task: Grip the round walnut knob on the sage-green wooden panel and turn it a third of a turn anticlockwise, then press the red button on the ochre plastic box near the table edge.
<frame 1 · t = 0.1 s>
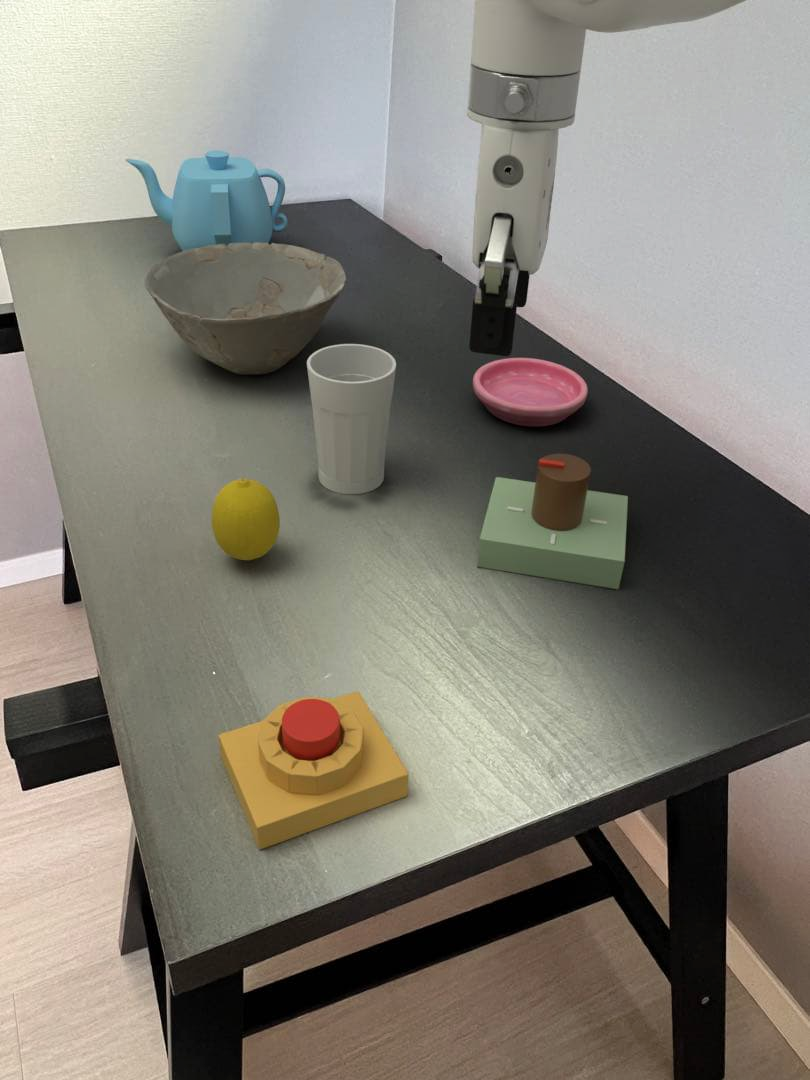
hand: (498, 327, 76), 19 cm above the table, tool pointing down, fingers open, 9 cm apart
knob: (560, 490, 80), point 6 cm above the table, hinge at 0.0°
panel: (552, 544, 84), on the table
button: (311, 729, 59), point 4 cm above the table, slide at 0.1 cm
teapot: (214, 256, 139), on the table
saucer: (527, 408, 104), on the table
ceramic bowl: (252, 359, 112), on the table
button box: (312, 776, 62), on the table
cup: (351, 478, 92), on the table
lemon: (248, 561, 81), on the table
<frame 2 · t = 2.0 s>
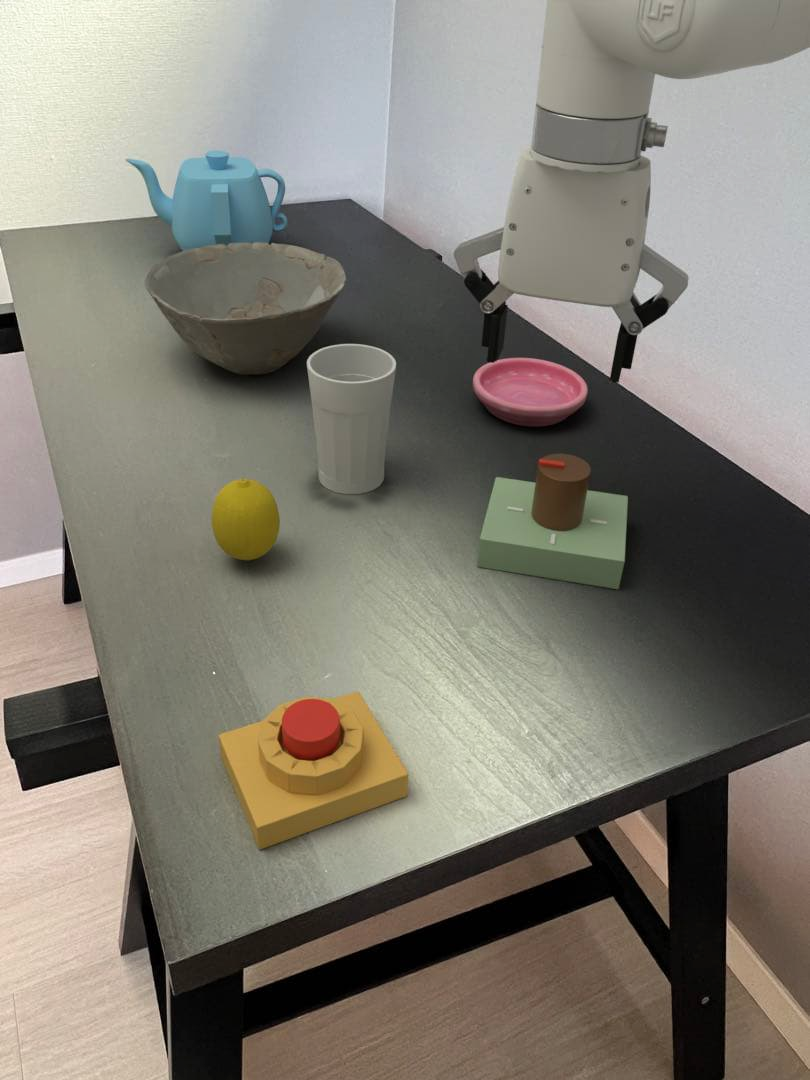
hand: (554, 365, 75), 17 cm above the table, tool pointing down, fingers open, 9 cm apart
nothing on the table moved.
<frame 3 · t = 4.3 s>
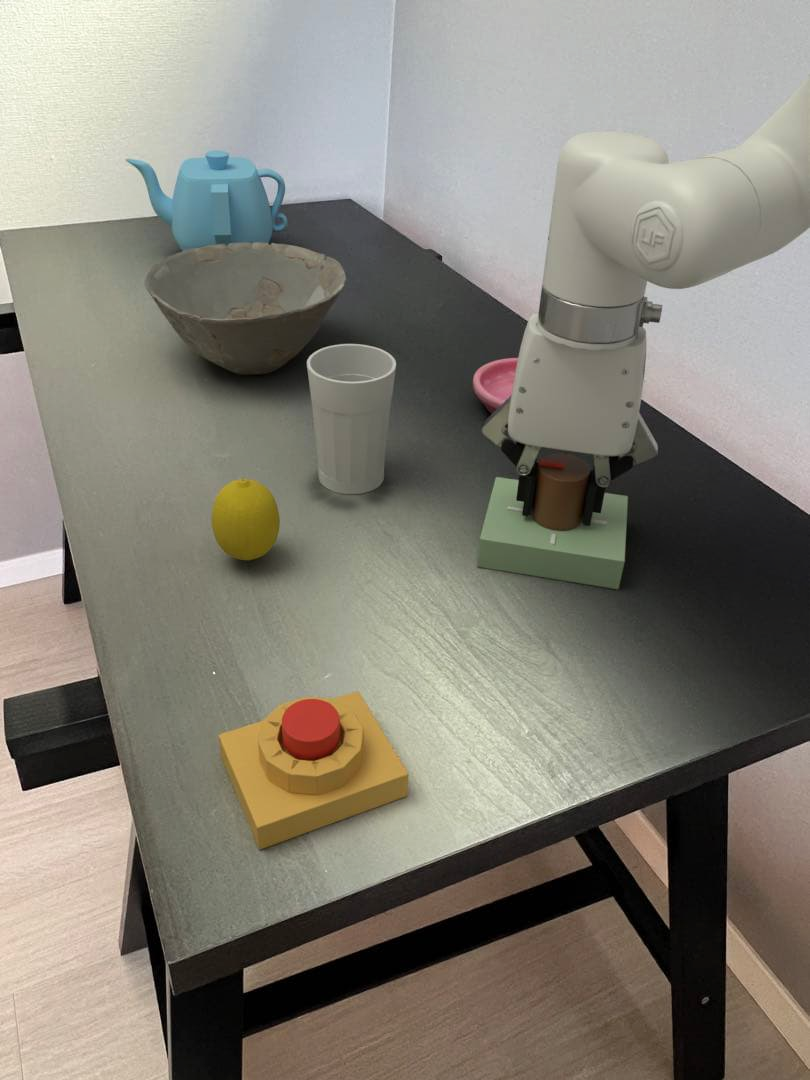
hand: (557, 510, 82), 4 cm above the table, tool pointing down, fingers closed on knob, 4 cm apart
knob: (560, 490, 80), point 6 cm above the table, hinge at 0.2°, touching gripper
everything else where it was.
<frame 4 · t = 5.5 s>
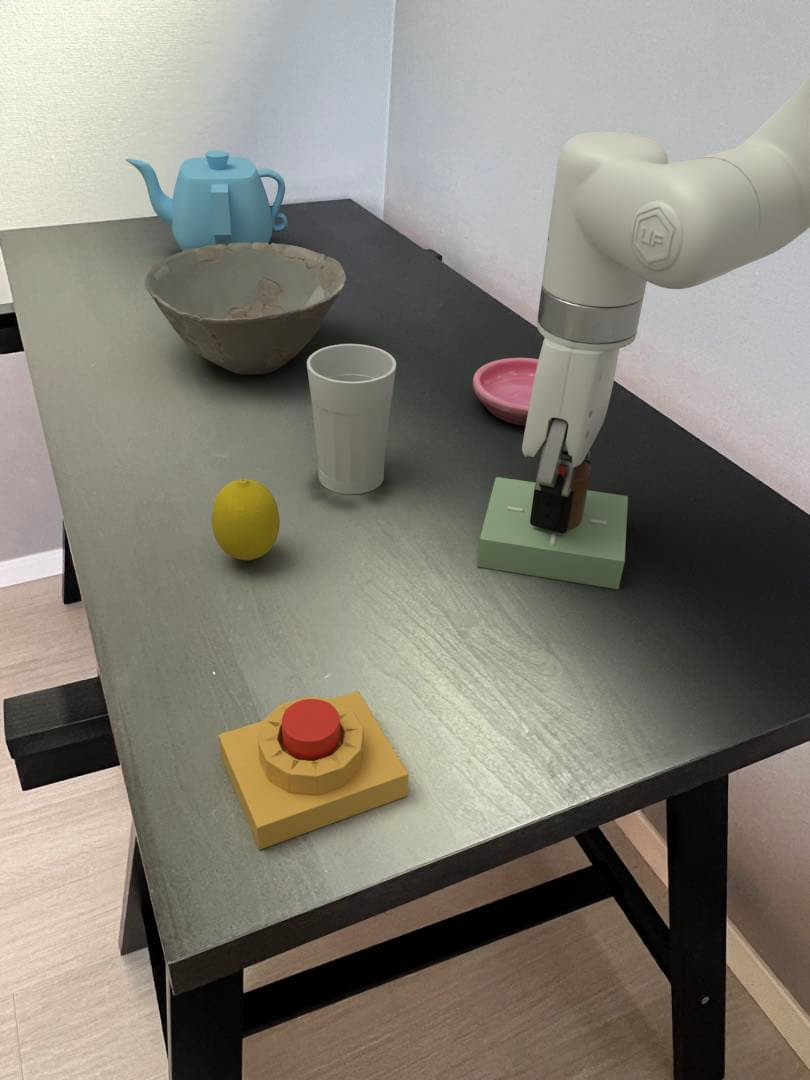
hand: (557, 510, 82), 4 cm above the table, tool pointing down, fingers closed on knob, 4 cm apart
knob: (560, 490, 80), point 6 cm above the table, hinge at 80.0°, touching gripper
everything else where it was.
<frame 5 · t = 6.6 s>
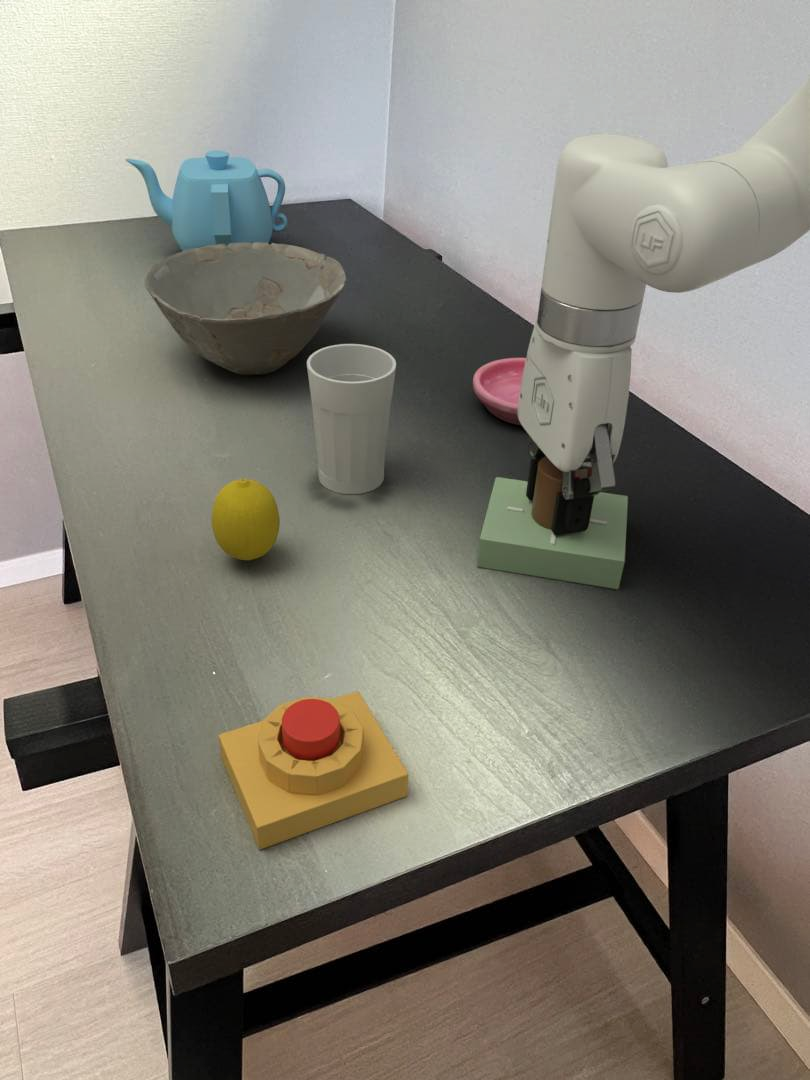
hand: (556, 511, 82), 3 cm above the table, tool pointing down, fingers open, 4 cm apart
knob: (560, 490, 80), point 6 cm above the table, hinge at 120.9°
everything else where it was.
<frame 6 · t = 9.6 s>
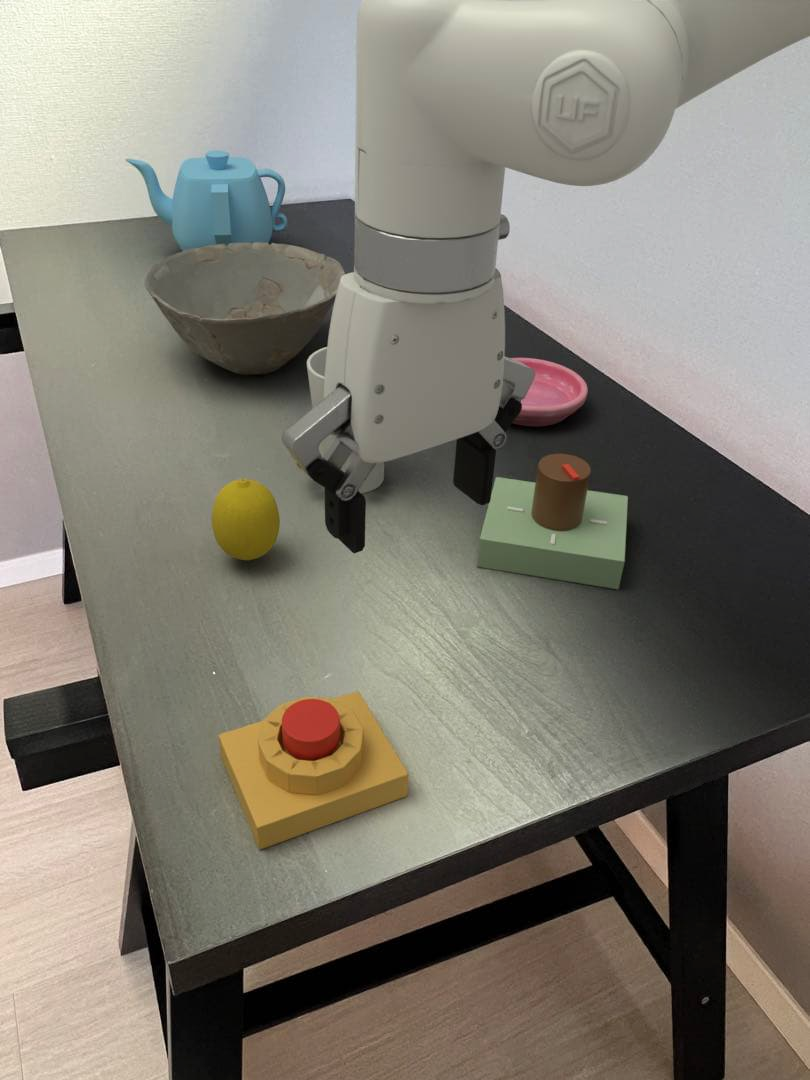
hand: (411, 516, 60), 15 cm above the table, tool pointing down, fingers open, 9 cm apart
nothing on the table moved.
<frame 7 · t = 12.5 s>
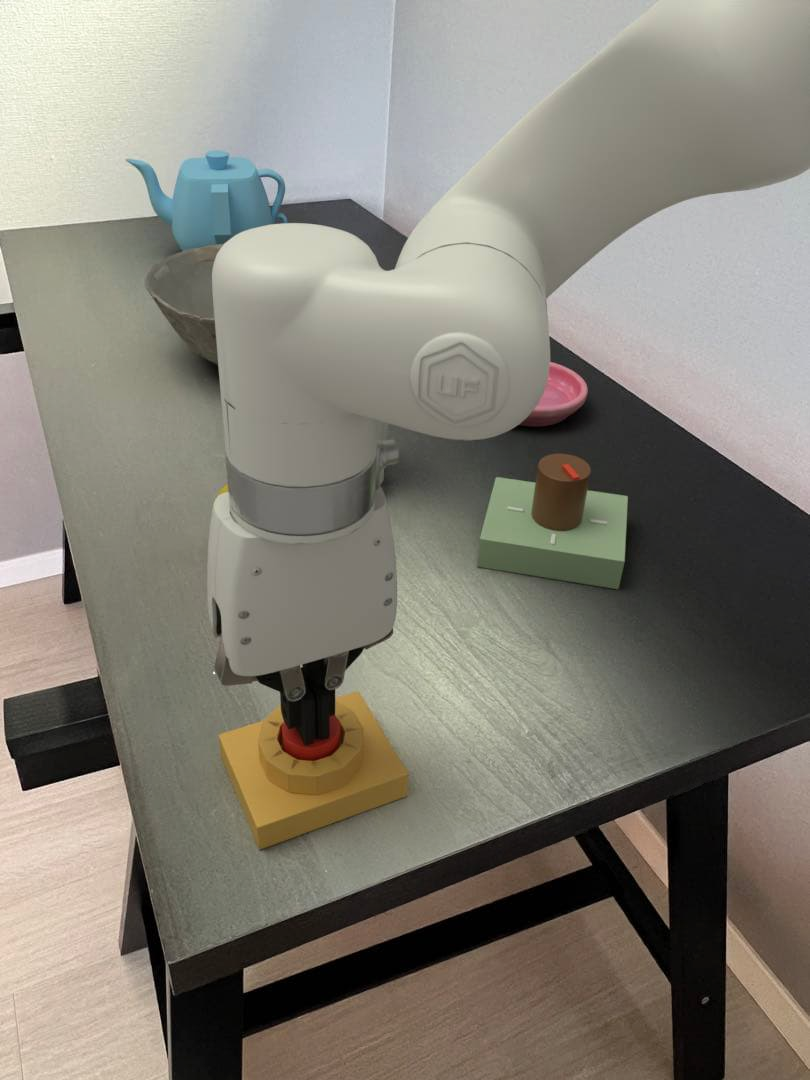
hand: (308, 725, 59), 5 cm above the table, tool pointing down, fingers closed
button: (311, 735, 60), point 4 cm above the table, slide at -0.5 cm, touching gripper
everything else where it was.
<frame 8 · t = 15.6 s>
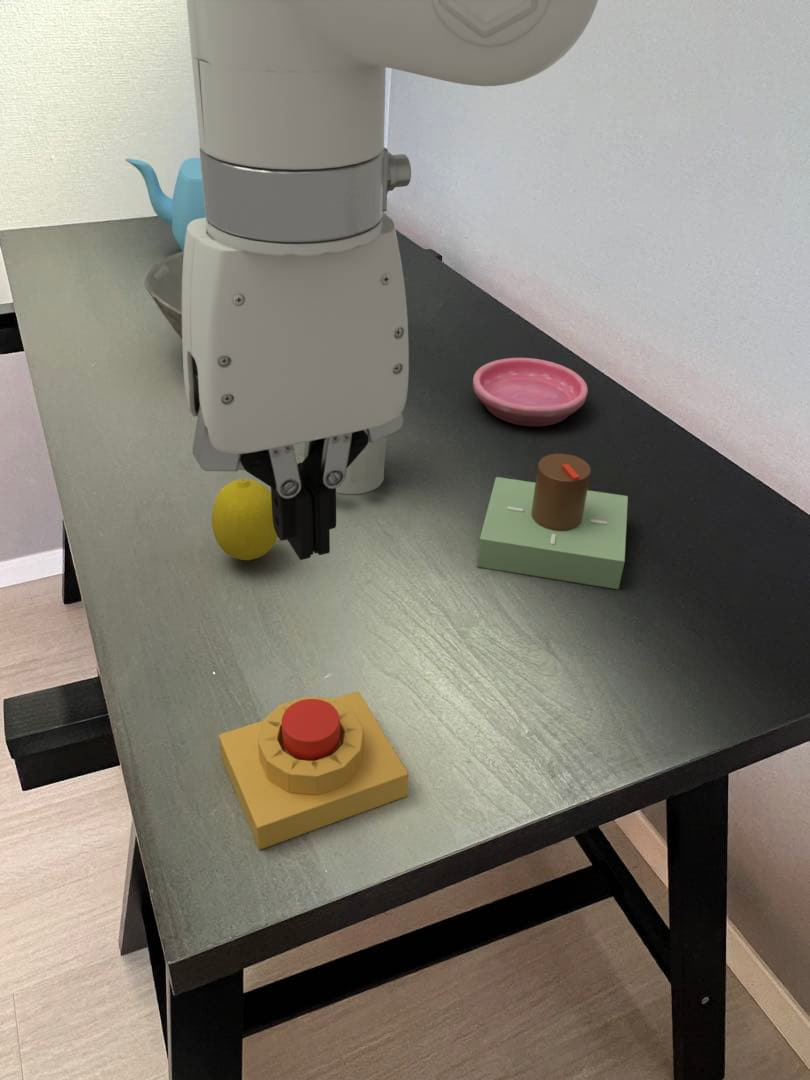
hand: (305, 541, 51), 19 cm above the table, tool pointing down, fingers closed
button: (311, 729, 59), point 4 cm above the table, slide at 0.1 cm
everything else where it was.
at the end: knob at +121° (first picture: +0°); button pushed in 1.1 cm at the most during the clip, back to where it started at the end; button slide at 0.1 cm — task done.
